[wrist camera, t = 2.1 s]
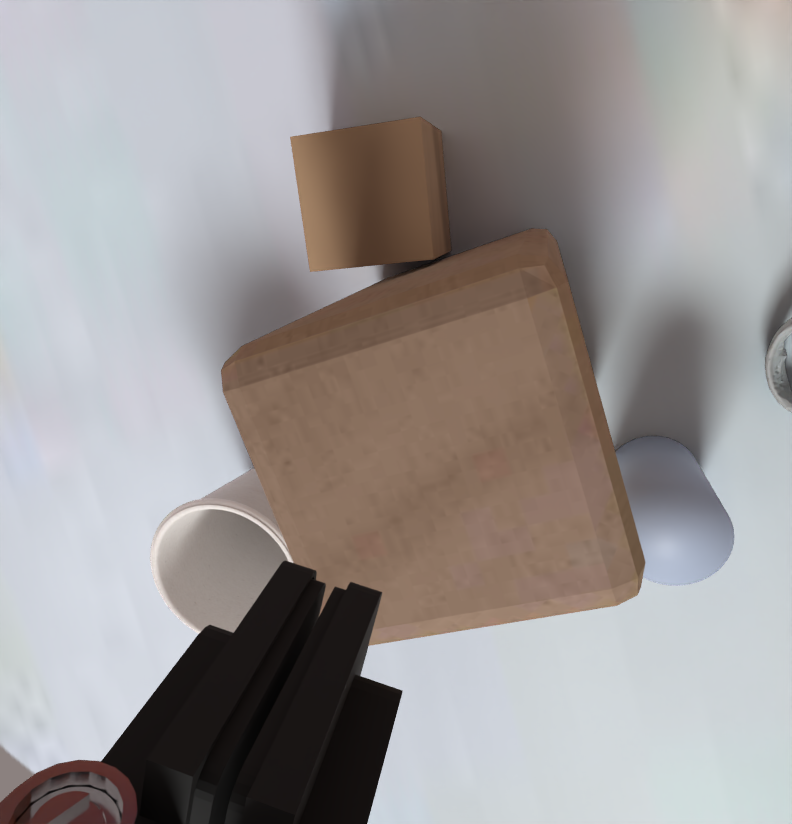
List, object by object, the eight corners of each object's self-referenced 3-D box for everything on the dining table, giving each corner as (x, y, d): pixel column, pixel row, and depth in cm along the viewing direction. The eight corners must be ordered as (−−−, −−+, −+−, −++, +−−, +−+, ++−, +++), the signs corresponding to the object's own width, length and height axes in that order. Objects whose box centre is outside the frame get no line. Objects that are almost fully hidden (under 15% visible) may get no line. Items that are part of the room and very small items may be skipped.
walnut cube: (441, 131, 33) (420, 116, 28) (451, 250, 35) (433, 259, 29) (331, 147, 35) (290, 136, 29) (346, 261, 36) (310, 271, 31)
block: (374, 281, 36) (195, 363, 18) (551, 221, 33) (557, 243, 15) (430, 443, 39) (322, 667, 20) (600, 400, 36) (660, 614, 17)
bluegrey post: (714, 451, 35) (752, 507, 29) (679, 529, 37) (708, 599, 30) (622, 425, 36) (640, 474, 29) (592, 502, 37) (602, 565, 31)
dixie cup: (383, 488, 40) (334, 574, 31) (313, 575, 43) (249, 676, 34) (276, 406, 40) (195, 468, 31) (213, 498, 43) (122, 580, 34)
